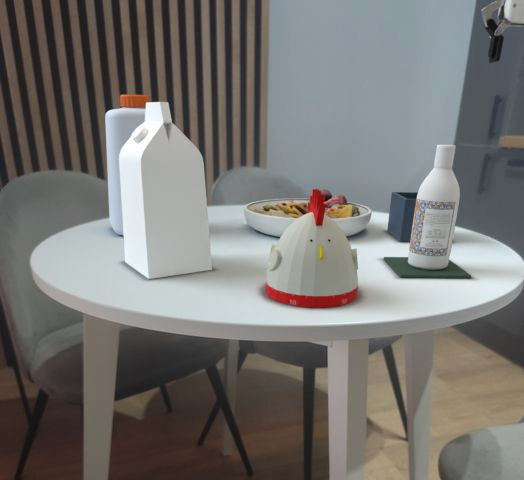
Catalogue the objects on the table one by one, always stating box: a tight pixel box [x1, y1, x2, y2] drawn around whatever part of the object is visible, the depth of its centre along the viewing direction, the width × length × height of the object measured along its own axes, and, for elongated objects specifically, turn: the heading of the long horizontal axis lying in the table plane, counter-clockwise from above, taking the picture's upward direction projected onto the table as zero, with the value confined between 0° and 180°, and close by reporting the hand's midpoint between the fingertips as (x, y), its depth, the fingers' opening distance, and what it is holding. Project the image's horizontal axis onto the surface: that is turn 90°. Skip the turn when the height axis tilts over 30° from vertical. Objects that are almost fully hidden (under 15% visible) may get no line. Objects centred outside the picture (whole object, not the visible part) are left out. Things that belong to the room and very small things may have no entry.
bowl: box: [243, 188, 372, 238], centre depth 118 cm, size 30×30×8 cm
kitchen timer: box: [265, 188, 359, 308], centre depth 73 cm, size 14×14×15 cm
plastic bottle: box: [104, 94, 150, 237], centre depth 110 cm, size 15×15×28 cm
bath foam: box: [407, 144, 461, 270], centre depth 85 cm, size 7×7×20 cm
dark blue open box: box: [386, 191, 418, 243], centre depth 112 cm, size 11×11×9 cm
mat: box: [383, 256, 472, 279], centre depth 89 cm, size 12×12×1 cm
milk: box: [119, 101, 213, 280], centre depth 83 cm, size 12×12×26 cm
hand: (519, 62), depth 93 cm, fingers open, 9 cm apart
